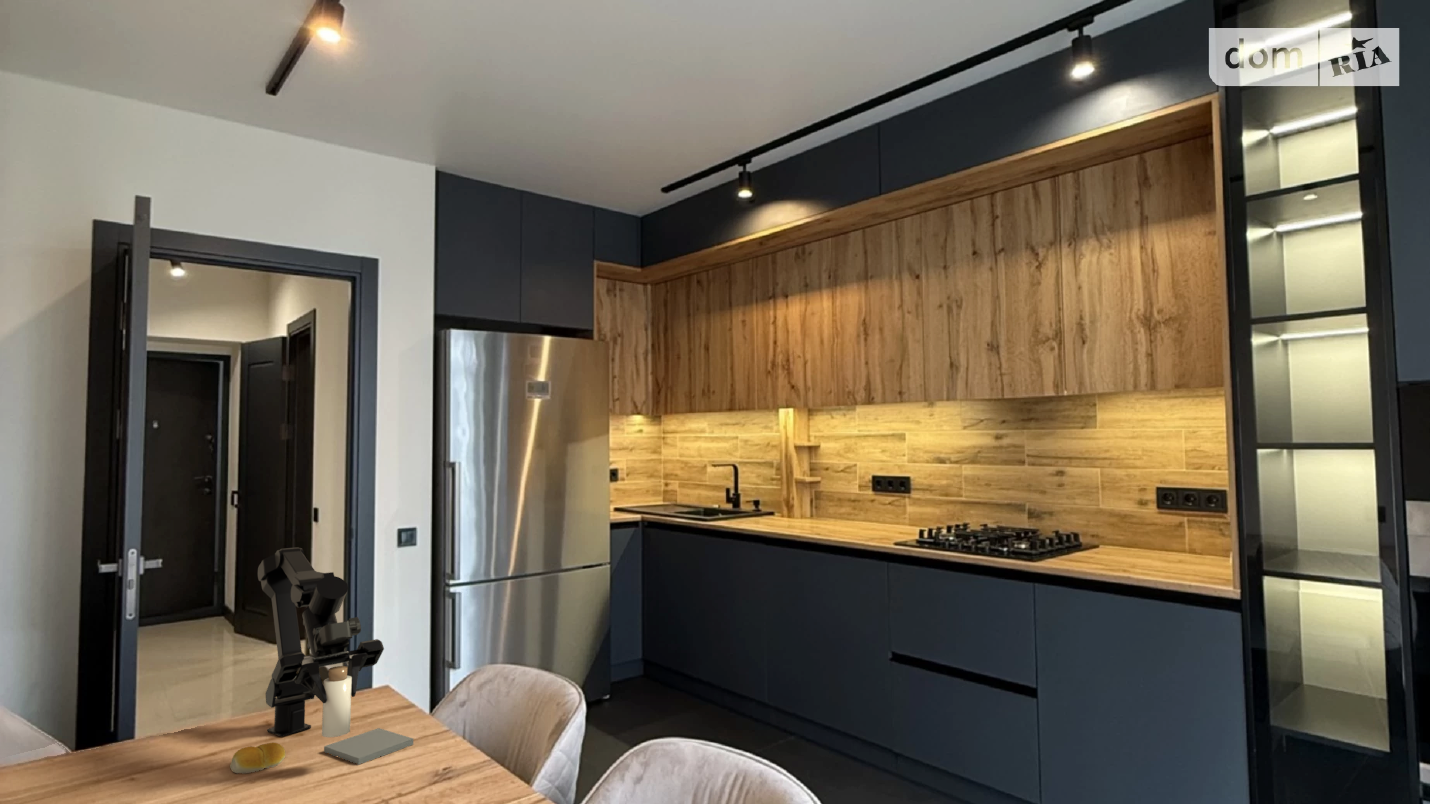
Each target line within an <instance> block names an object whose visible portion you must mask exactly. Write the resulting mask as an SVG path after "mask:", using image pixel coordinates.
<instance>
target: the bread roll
mask: <svg viewBox="0 0 1430 804" xmlns="http://www.w3.org/2000/svg"><path fill="white" fill-rule="evenodd" d="M285 757H286V751H285V747H283V745H281V744H280V743H277V742H268V743H263V744H260V745H257V746H251V745H250V746H245V747H241V748H240V749H239V750H237V751H235V753H234V754H233V756H232V759H231V763H230V765H229V767H230V769H231V771H232V772H233V773H236V774H238V773H242V774H250V773H251V772H252V773H256V772H260V771H263V770H265V769H264V768H268V769H270V768H269V767H272V768H275V767H277V766H279V765H280V764H281V763H282V761H284V760H285ZM278 764H279V765H278ZM276 765H277V766H276ZM274 766H275V767H274ZM259 770H260V771H259ZM255 771H256V772H255Z"/></svg>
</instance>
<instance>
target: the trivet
mask: <svg viewBox="0 0 1430 804" xmlns="http://www.w3.org/2000/svg"><path fill="white" fill-rule="evenodd" d="M413 745H414V738H413V737H409V736H406V735H403V734H399V733H397V732H393V731H391V730H387V729H383V728H381V727H377V728H375V729H371V730H369V731H365V732H362V733H360V734H358V735H354V736H351V737H348V738H345V739H342V740H338V741H336V742H332V743H329V744H326V745H324V746H323V753H324V752H325V754H327V753H329V754H328V755H330V754H332V755H331V756H333V757H335V756H338V757H340V758H339V759H341V758H343V759H342V760H344V759H345V760H344V761H347V760H349V761H350V763H352V762H353V763H352V764H355V763H357V764H356V765H358V766H359V765H362V764H365V763H368V762H370V761H373V760H376V759H378V758H381V757H383V756H386V755H389V754H392V753H394V752H397V751H399V750H403V749H405V747H406V748H408V747H410V746H413ZM407 746H408V747H407ZM380 756H381V757H380ZM338 757H337V758H338ZM375 758H376V759H375ZM369 760H370V761H369ZM349 761H348V762H349ZM367 761H368V762H367ZM361 763H362V764H361Z"/></svg>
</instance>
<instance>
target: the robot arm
mask: <svg viewBox="0 0 1430 804" xmlns="http://www.w3.org/2000/svg"><path fill="white" fill-rule="evenodd" d="M257 579H258V581H259V582H260V584H261V585H260V586H261V589H262V592H264V593H265V595H267V597H269V598H270V599H271V605H272V615H273V625H274V632H275V641H276V650H277V657H278V659H277V662H276V664H275V667H274V669H273V671H272V673H271V678H270V681H269V683H268V686H267V688H266V691H265V703H266V705H268V707H269V708H271V709H272V708H274V723H273V724H274V726H273V727H270V728H267V729H266V732H268V733H269V734H273V735H275V736H278V737H286V736H290V735H293V734H296V733H298V732H302V731H305V730H308V729H311V728H312V725H311V724H309V723H306V719H305V718H306V717H305V716H306V701H308V700H314V699H315V697H317V699H319V700H320V702H321V703H322V704H323V703H326V701H327V697H326V692H325V689H324V681H323V679H322V676H321V673H320V668H323V667H326V666H332V665H338V664H343V663H345V664H346V667H347V676H351V677H352V685H351V698H352V697H355V696H356V694H357V687H358V677H359V672H361V671H362V669H363V668H368V667H373V666H375V665H377V664H378V662H379V660H380V658H381V656H382V653H383V652H384V650H385V648H384V644H383V642H382V641H381V640H380V639H378V638H376V639H371V640H370V639H369V640H365V641H360V642H359V644H358V645H357V646H358V647H357V648H356V649H354V650H347V651H346V649H347V648H348V647H349V645H350V642H349V640H350V639H353V637H354V636H357V635H359V634H360V633H361V631H362V625H361V621H360V618H359V617H358V616H357V617H350V618H348V619H347V620H346V621H342V622H338V619H337V617H336V616H337V615H336V614H337V613H338V612H339V611H340V609H341V606H342V604H343V602H344V600H345V598H346V595H347V593H348V590H349V585H348V583H347V582H346V581H345V580H344V579H343V578H341V577H339V576H335V574H334V571H332V572H330V571H329V572H320V571H316V570H315V569H314V567H313V566H312V564H311V563H310V562H309V560H308V559H307V558H306V556H305V552H304V549H303V548H301V547H299V546H298V547H288V548H286V547H285V548H280V549H278V550H276V552H275V553H274V554H271V555H269V556H268V557H266V558H264V559H262V560H261V563H260V564H259V565H258V568H257ZM303 607H304V608H305V607H306V608H305V609H304V611H303V612H302V614H301V615H302V619H303V620H302V625H303V626H304V628H305V633H306V638H307V641H308V642H307V644H306V647H307V649H308V650H310V653H311V654H310V655H309V654H308V655H306V654H304V653H303V651H302V642H301V637H300V635H301V634H300V628H299V620H298V614H297V608H303Z"/></svg>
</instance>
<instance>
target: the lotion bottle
mask: <svg viewBox="0 0 1430 804" xmlns="http://www.w3.org/2000/svg"><path fill="white" fill-rule="evenodd" d="M323 685H324V689H325V692H326V697H327V701H326V703H323V702H322V720H321V722H322V723H321V736H322V737H324V738H336V737H338V738H339V737H342V736H345V735H348V734H349V733H350V732H351V715H352V714H351V713H352V712H351V711H352V695H351V685H352V677H351V676H347V665H346V666H345V665H337V666H332V667H330V668H328V677H327V678H325V679H324V680H323Z"/></svg>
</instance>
